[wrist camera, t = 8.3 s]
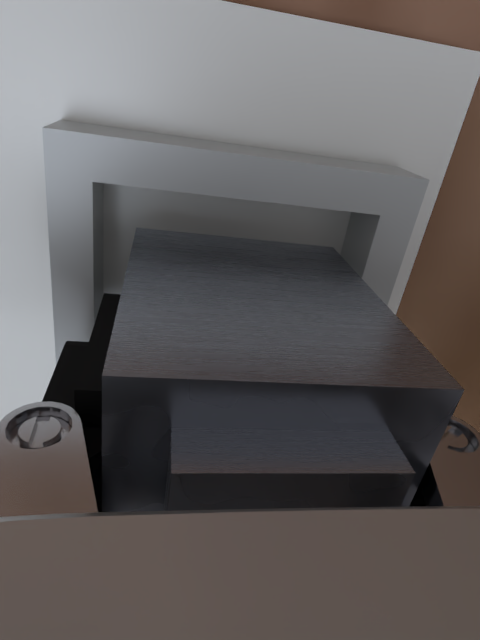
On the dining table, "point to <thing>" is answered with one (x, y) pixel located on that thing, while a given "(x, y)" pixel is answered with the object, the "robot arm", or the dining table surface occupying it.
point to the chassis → (204, 149)
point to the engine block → (262, 382)
